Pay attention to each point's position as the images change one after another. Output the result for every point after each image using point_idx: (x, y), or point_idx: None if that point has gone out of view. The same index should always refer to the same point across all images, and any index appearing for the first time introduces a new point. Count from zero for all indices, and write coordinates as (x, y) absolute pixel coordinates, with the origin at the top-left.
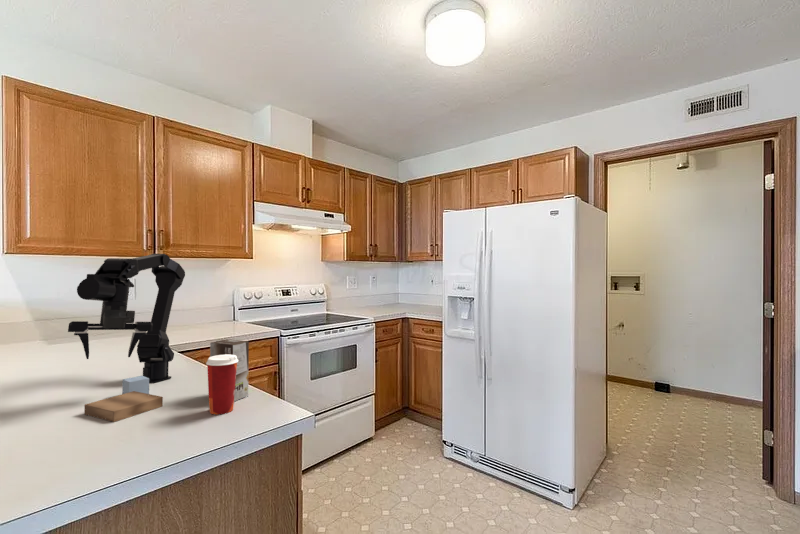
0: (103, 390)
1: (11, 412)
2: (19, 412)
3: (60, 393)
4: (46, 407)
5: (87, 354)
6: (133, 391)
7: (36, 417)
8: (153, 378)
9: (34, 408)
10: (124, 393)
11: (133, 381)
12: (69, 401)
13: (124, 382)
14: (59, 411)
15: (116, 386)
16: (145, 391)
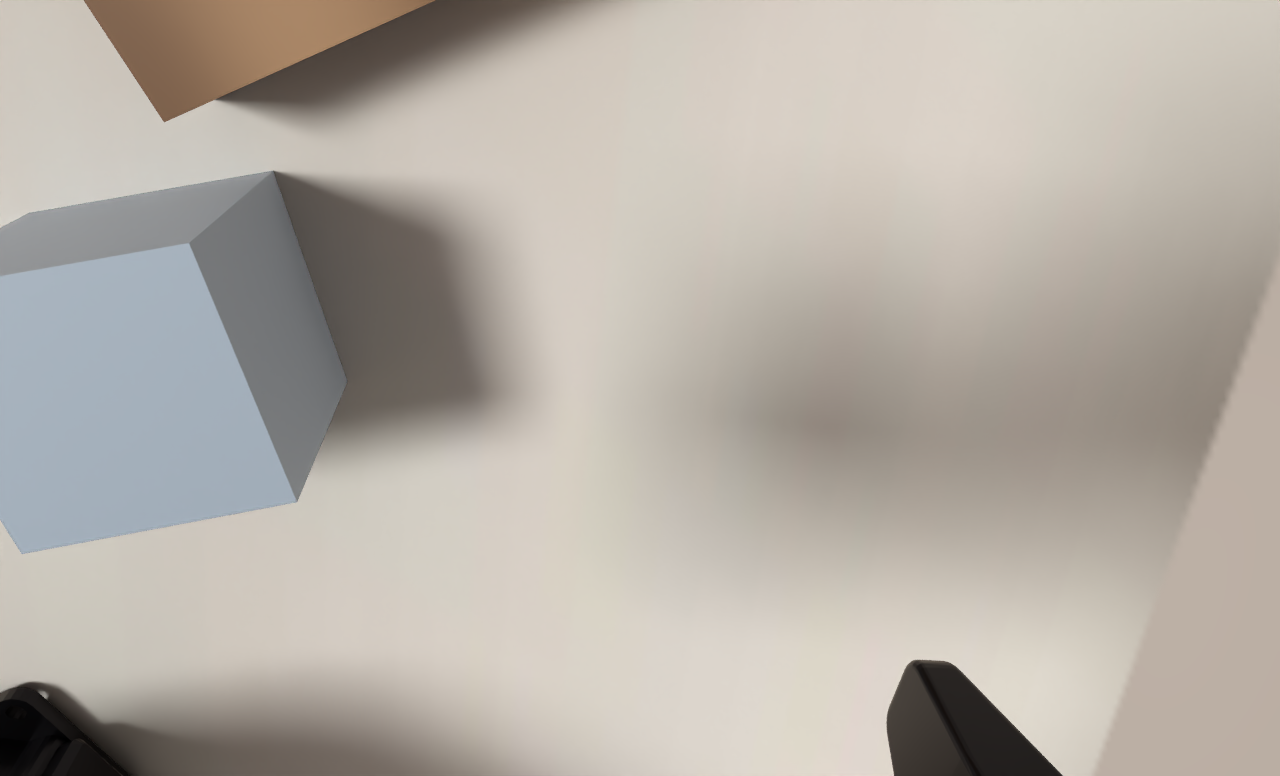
0: (506, 687)
1: (1178, 458)
2: (1146, 419)
3: (799, 770)
4: (971, 435)
5: (998, 752)
6: (168, 101)
7: (1120, 143)
8: (10, 759)
9: (1040, 465)
10: (313, 338)
11: (122, 253)
12: (793, 506)
13: (278, 413)
14: (931, 212)
15: (393, 752)
16: (39, 221)
